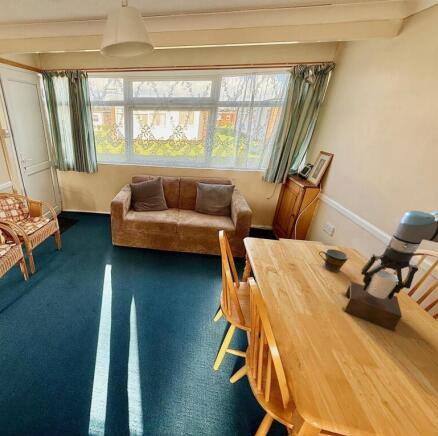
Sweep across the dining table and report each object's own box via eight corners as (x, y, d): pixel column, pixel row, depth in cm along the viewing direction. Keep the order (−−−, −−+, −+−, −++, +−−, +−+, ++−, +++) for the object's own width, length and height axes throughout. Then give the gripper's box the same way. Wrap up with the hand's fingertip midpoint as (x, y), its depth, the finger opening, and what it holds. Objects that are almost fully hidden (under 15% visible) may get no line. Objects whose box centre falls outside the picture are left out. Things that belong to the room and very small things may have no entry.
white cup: (390, 294, 99) (401, 276, 95) (385, 302, 95) (396, 283, 91) (367, 284, 105) (376, 267, 101) (361, 291, 101) (371, 273, 97)
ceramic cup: (340, 266, 134) (347, 252, 130) (343, 275, 126) (350, 261, 122) (314, 259, 140) (319, 246, 136) (315, 268, 132) (320, 254, 128)
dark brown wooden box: (389, 309, 105) (397, 296, 101) (393, 330, 95) (402, 316, 91) (344, 293, 114) (350, 281, 110) (344, 311, 104) (350, 298, 101)
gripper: (367, 244, 93) (346, 287, 103) (442, 263, 82) (411, 309, 91) (366, 237, 99) (346, 278, 108) (437, 253, 87) (408, 298, 97)
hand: (376, 292), depth 100 cm, fingers closed on white cup, 8 cm apart
